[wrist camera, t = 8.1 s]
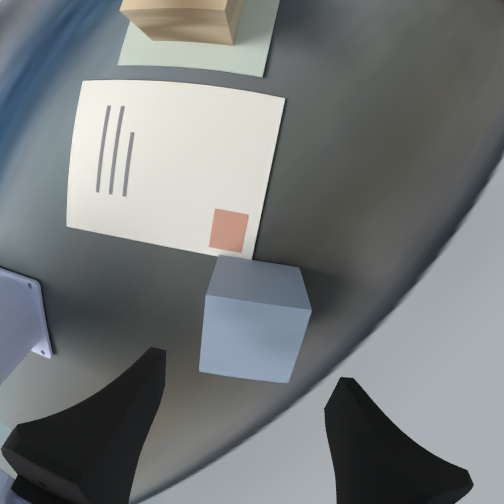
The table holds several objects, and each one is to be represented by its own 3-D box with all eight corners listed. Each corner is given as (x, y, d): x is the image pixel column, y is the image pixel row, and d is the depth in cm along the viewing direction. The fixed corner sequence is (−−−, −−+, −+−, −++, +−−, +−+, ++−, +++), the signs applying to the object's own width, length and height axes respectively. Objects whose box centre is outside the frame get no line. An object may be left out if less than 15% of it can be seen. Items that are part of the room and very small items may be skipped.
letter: (67, 225, 18) (66, 226, 18) (83, 81, 15) (82, 80, 15) (251, 262, 19) (251, 262, 18) (284, 98, 15) (285, 98, 15)
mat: (118, 66, 15) (117, 65, 14) (155, -41, 12) (155, -42, 11) (262, 77, 15) (262, 77, 15) (288, -34, 12) (288, -36, 12)
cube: (210, 321, 20) (199, 371, 15) (218, 254, 18) (205, 294, 14) (282, 332, 20) (288, 383, 16) (299, 267, 19) (312, 310, 14)
